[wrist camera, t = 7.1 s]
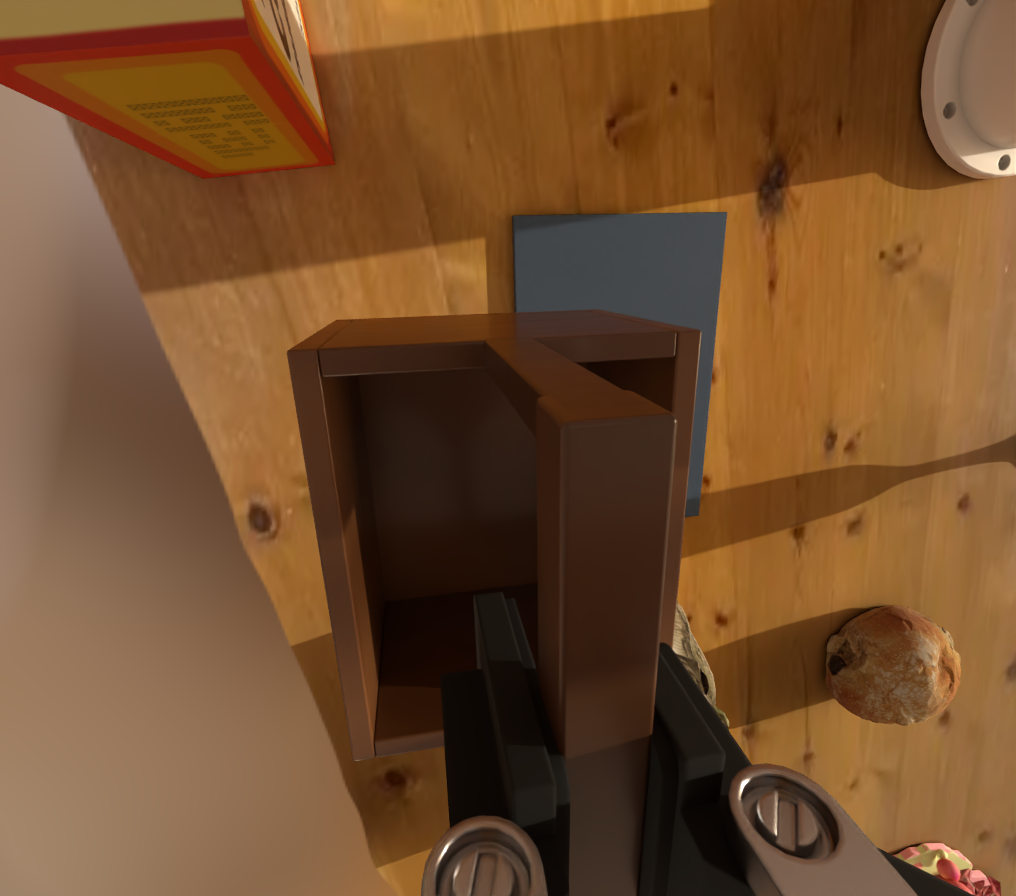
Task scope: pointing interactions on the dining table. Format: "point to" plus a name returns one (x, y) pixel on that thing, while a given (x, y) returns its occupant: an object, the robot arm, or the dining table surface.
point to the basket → (506, 531)
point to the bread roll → (892, 666)
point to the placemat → (630, 282)
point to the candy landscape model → (950, 868)
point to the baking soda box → (176, 77)
